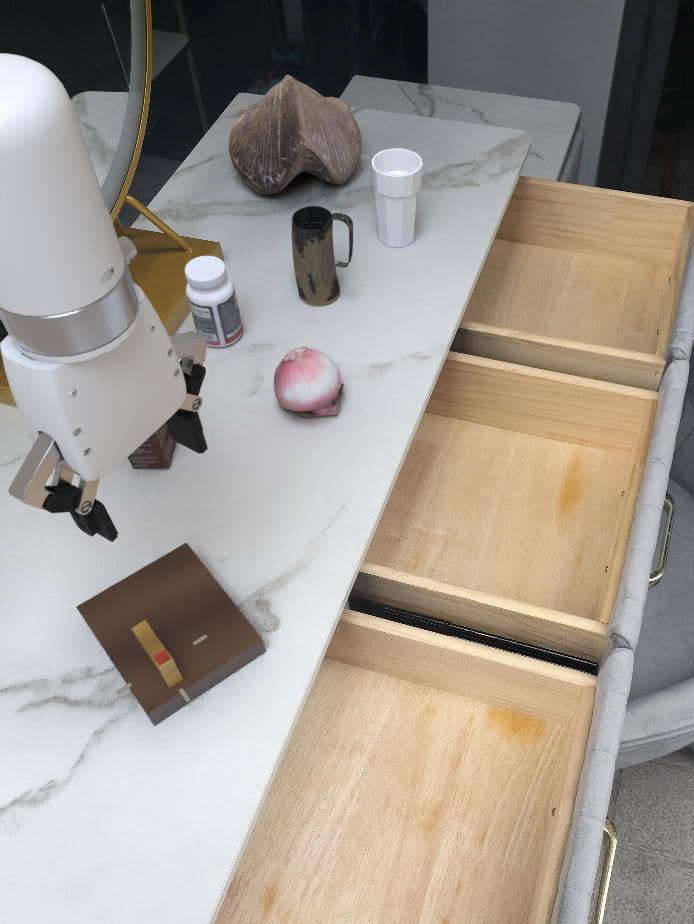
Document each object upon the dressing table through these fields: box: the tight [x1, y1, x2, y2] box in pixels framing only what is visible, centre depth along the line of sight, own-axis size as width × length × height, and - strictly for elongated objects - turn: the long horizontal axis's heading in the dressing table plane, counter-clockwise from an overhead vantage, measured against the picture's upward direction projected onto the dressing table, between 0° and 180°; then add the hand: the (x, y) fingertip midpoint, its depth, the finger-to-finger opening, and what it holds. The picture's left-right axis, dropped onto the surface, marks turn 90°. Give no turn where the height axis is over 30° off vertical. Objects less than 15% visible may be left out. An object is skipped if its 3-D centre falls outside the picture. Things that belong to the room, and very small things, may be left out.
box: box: [127, 422, 177, 470], centre depth 87 cm, size 6×4×12 cm
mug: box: [291, 205, 354, 307], centre depth 102 cm, size 8×6×12 cm
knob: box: [131, 620, 183, 688], centre depth 72 cm, size 5×1×4 cm, turn 39°
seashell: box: [228, 74, 363, 195], centre depth 119 cm, size 16×17×15 cm
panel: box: [75, 542, 267, 727], centre depth 77 cm, size 15×13×3 cm
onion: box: [273, 346, 345, 418], centre depth 93 cm, size 8×8×7 cm
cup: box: [371, 147, 424, 249], centre depth 110 cm, size 7×7×11 cm
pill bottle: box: [184, 255, 244, 348], centre depth 99 cm, size 6×6×10 cm
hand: (147, 486), depth 61 cm, fingers open, 9 cm apart
